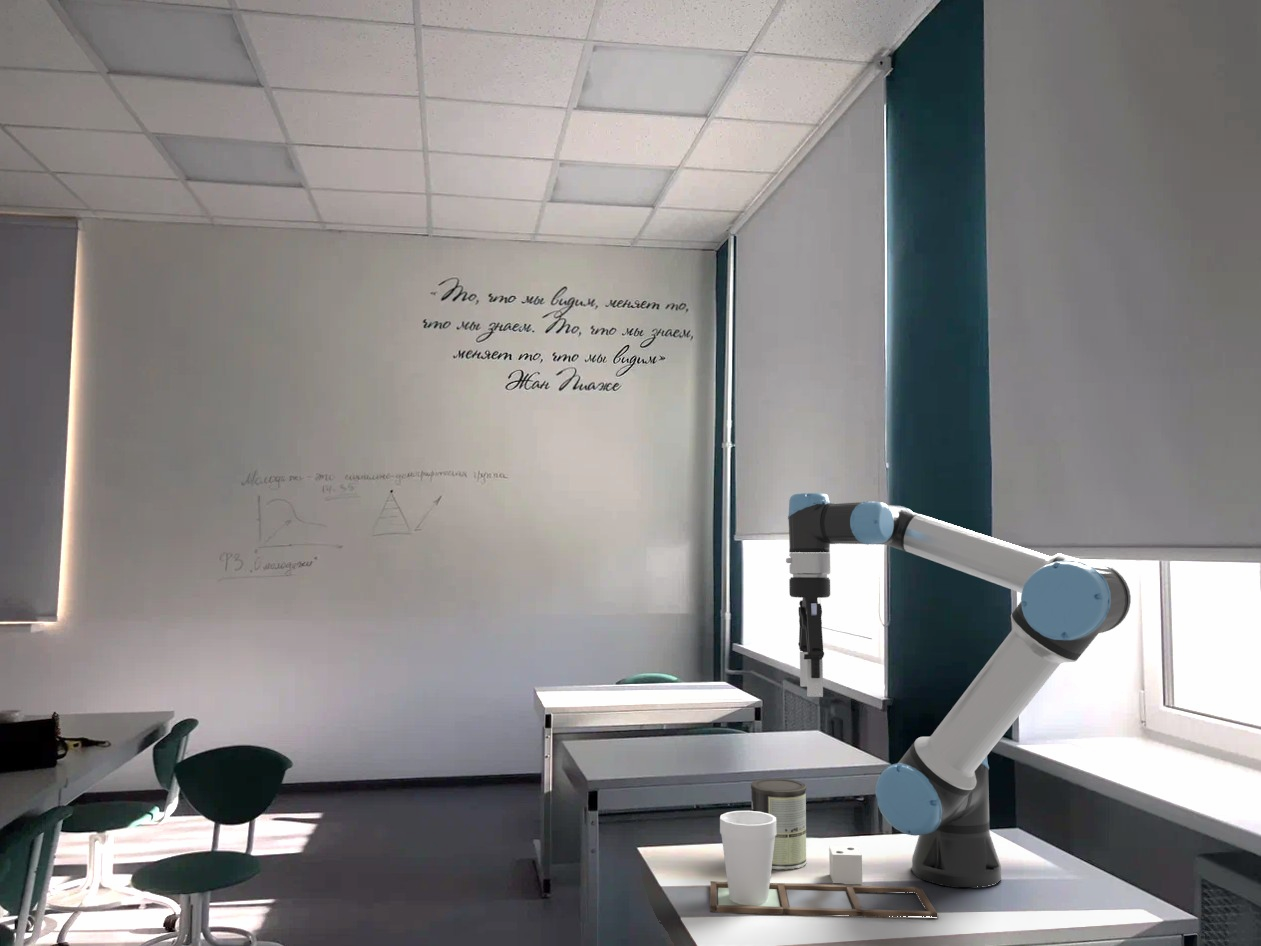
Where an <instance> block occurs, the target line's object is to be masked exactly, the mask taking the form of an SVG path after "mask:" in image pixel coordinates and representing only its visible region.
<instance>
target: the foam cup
mask: <svg viewBox="0 0 1261 946" xmlns="http://www.w3.org/2000/svg"><path fill="white" fill-rule="evenodd" d="M719 834H720V835H721V841H722V849H723V857H724V858H723V859H724V864H725V865H724V866H725V871H726V873H725V874H726V880H727V881H726V882H728V889H729V895H730V900H732V901H733V902H735V903H738V904H742V905H759V904H764V903H765V902H767V901H768V895H769V886H770V883H771V877H772V876H771V874H772V869H771V868H772V860H773V851H774V842H775V836H776V817H775V816H773V815H771V814H768V813H763V812H757V811H752V810H734V811H728V812H724V813H723V814H720V817H719Z"/></svg>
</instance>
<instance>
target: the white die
mask: <svg viewBox="0 0 1261 946" xmlns="http://www.w3.org/2000/svg"><path fill="white" fill-rule="evenodd" d="M828 847H829V849H828V851H829V852H828V853H829V877H830V876H831V877H830V879H831V882H832V881H833V882H832V884H833V883H846V884H845V885H861V884H862V885H863V855H862V853H861V851H860V848H859V847H858V846H838V845H837V846H836V845H835V846H833V845H829V846H828Z"/></svg>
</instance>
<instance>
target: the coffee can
mask: <svg viewBox="0 0 1261 946" xmlns="http://www.w3.org/2000/svg"><path fill="white" fill-rule="evenodd" d="M750 789H751V792H750V793H751V797H750V798H751V811H757V812H763V813H768V814H771V815H773V816H775V817H776V836H775V842H774V851H773V860H772V868H771V870H772V869H793V870H795V869H794V868H798V867H802V866H804V865H805V864H806V863H807V862H808V861H807V811H806V810H807V804H806V803H807V801H806V800H807V798H806V796H807V795H806V791H807V785H806V784H805V783H804V782H801V781H799V780H795V779H789V778H788V779H787V778H762V779H757V780H755V781H752V782H751V783H750ZM806 865H807V864H806ZM806 865H805V866H806ZM805 866H804V867H805ZM802 868H803V867H802Z"/></svg>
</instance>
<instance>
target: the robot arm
mask: <svg viewBox="0 0 1261 946" xmlns="http://www.w3.org/2000/svg"><path fill="white" fill-rule="evenodd" d="M788 502H789V503H788V505H789V506H788V516H787V520H788V537H789V538H788V539H789V540H788V541H789V543H788V544H789V545H788V546H789V547H788V548H789V550H788V551H789V557H787V558H786V559H785V562H786V564H789V574H791V575H792V577H790V578H789V579H788V580H789V581H788V582H789V583H788V584H789V587H788V588H789V596H790V597H791V598H798V599H799V598H802V600H799V603H798V605H799V606H798V609H797V610H798V623H799V630H798V631H799V634H798V647H799V648H798V649H799V682H800V683H799V684H800V686H799V687H802V688H803V687H805V688H806V692H807V693H806V694H807V695H806V696H807V697H810V698H811V697H813V698H817V697H819V698H820V697H821V698H823V697H824V685H823V684H824V678H823V676H824V673H823V671H824V670H823V667H824V666H823V664H824V663H823V658H824V656H825V652H824V641H823V640H824V639H823V625H822V624H823V623H822V621H823V620H822V615H823V609H822V608H823V607H822V605H821V603H819V600H818V599H819V598H820V599H821V598H822V599H823V598H825V599H826V598H830V596H831V579H830V578H829V577H828V575H830V574H831V553H830V552H831V551H830V547H831V545H837V544H838V545H840V544H841V545H867V546H868V545H885V546H889V547H891V548H893V549H897V550H900V551H902V552H906V553H910V554H913V555H915V556H918V557H921V558H924V559H927V560H929V561H933V562H934V563H938V564H941V565H943V566H946V567H949V568H951V569H954V570H956V571H960V572H963V573H964V574H968V575H970V576H973V577H976V578H979V579H982V580H984V581H987V582H990V583H993V584H995V585H999V586H1001V587H1004V588H1006V589H1010V590H1012V591H1015V592H1017V593H1021V596H1020V602H1019V603H1018V605H1017V606H1016V608H1014V610H1013V612H1012V613H1011V615H1010V618H1011V625H1012V630H1011V631H1010V632H1009V633H1008V635H1007V636H1006V637H1005V638H1004V640H1003V642H1002V643H1001V644H1000V645H999V646H998V648H997V649H996V650H995V652H994V653H993V654H992V656H991V657H990V658H989V660H988V661H987V662H986V663H985V665H984V666H983V668H982V669H981V670H980V671H979V672H978V674H977V675H976V677H974V679H973V680H972V682H971V683H970V685H968V687H967V688H966V690H965V691H963V694H962V695H961V696H960V697H959V699H958V700H957V701H956V703H955V704H954V705H953V706H952V708H951V710H950V711H949V712H948V713H947V714H946V716H945V717H944V718H943V720H942V721H941V722H940V723H939V725H937V727H936V729H934V731H933V733H932V734H931V735H930V736H920V737H918V738H916V739H915V741H914V742H913V743H912V744H911V746H910V747H909V748H908V750H907V751H906V752H905V753H904V754H903V756H902V757H901V758H900V760H899V761H898V762H897V763H893V764H890V765H888V767H886V768H885V769H884V770H883V771H882V772H881V773H880V775H879V777H878V779H877V782H876V785H875V797H876V800H877V807H878V808H879V811H880V813H881V814H882V816H883V817H884V819H885V820H886V822H887V823H888V824H889V825H890V826H891V827H893V828H894V829H895V830H897V831H899V832H900V833H902V834H905V835H908V836H913V837H916V836H918V838H917V841H916V845H915V847H914V852H913V853H912V858H911V859H912V860H911V864H912V865H911V866H912V867H911V869H912V870H911V871H912V873H913V874H914V875H915V876H916V877H918V879H922V880H923V881H925V880H926V882H928V881H929V882H928V883H931V882H932V883H931V884H935V883H936V884H935V885H941V886H944V885H945V886H944V887H950V886H952V887H951V888H959V887H977V886H978V887H982V886H988V885H992V884H995V883H997V882H999V881H1000V880H1001V881H1002V865H1001V863H1000V860H999V857H998V854H997V850H996V848H995V844H994V842H993V839H992V836H991V832H990V800H989V799H990V797H989V795H990V793H989V792H990V791H989V787H990V786H989V770H990V766H989V764H988V755H989V754H990V753H991V751H992V750H993V748H994V747H995V746H996V745H997V744H998V742H999V741H1000V740H1001V739H1002V737H1003V736H1004V735H1005V734H1006V732H1008V730H1009V729H1010V728H1011V726H1012V725H1013V724H1014V722H1015V721H1016V720H1017V719H1018V717H1019V716H1020V715H1021V714H1022V712H1023V711H1024V710H1025V709H1026V708H1027V706H1028V705H1029V703H1030V702H1031V701H1032V700H1033V698H1034V697H1035V696H1036V695H1037V693H1038V692H1039V691H1040V689H1042V687H1043V686H1044V685H1045V684H1046V683H1047V681H1048V680H1049V679H1050V678H1051V676H1052V675H1053V674H1054V672H1055V671H1056V670H1057V668H1058V667H1059V666H1060V665H1061V664H1062V663H1073V662H1076V661H1078V659H1079V658H1080V657H1081V656H1082V655H1083V653H1084V652H1085V651H1086V650H1087V648H1088V647H1089V646H1090V644H1091V643H1092V642H1093V641H1094V640H1095V638H1096V637H1097V636H1098V635H1099V634H1103V633H1106V632H1108V631H1111V630H1114V629H1115V628H1116V627H1117V626H1119V625H1120V624H1121V623H1122V622H1123V621H1125V619H1126V617H1127V616H1128V613H1129V611H1130V608H1131V604H1132V603H1131V602H1132V601H1131V599H1132V597H1131V592H1130V588H1129V585H1128V584H1127V582H1126V580H1125V578H1124V577H1123V575H1121V574H1120V573H1119V572H1118V571H1117V570H1116V569H1114V568H1113V567H1112V566H1110V565H1107V564H1105V563H1103V562H1099V561H1092V560H1091V561H1090V560H1086V559H1085V560H1084V559H1080V558H1077V557H1072V556H1070V555H1067V554H1062V553H1057V554H1055V555H1052V556H1051V555H1050V556H1049V555H1046V554H1043V553H1040V552H1038V551H1034V550H1031V549H1029V548H1025V547H1022V546H1019V545H1016V544H1012V543H1010V542H1006V541H1003V540H1000V539H997V538H994V537H991V536H988V535H985V534H982V533H979V532H975V531H973V530H970V529H966V528H963V527H961V526H957V525H954V524H952V523H948V522H945V521H943V520H938V519H936V518H933V517H930V516H927V515H924V514H921V513H917V512H913V511H912V510H911V509H910V508H907V507H905V506H903V505H902V506H901V505H897V504H886V503H885V502H881V501H870V500H869V501H860V502H859V501H858V502H842V503H834V502H833V503H831V502H830V499H829V495H828V494H826V493H819V492H817V493H816V492H812V493H811V492H810V493H809V492H808V493H807V492H806V493H805V492H803V493H794V494H792V495H791V496H790V497H789V500H788ZM1001 881H1000V882H1001ZM1000 882H999V883H1000Z"/></svg>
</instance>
